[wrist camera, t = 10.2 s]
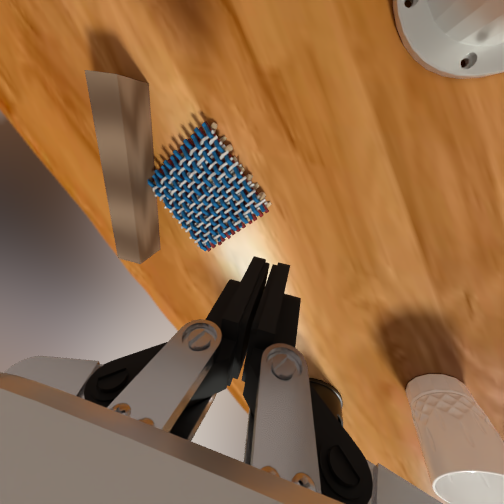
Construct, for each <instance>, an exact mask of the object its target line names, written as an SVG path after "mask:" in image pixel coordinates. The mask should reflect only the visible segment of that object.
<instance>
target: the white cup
mask: <svg viewBox="0 0 504 504" xmlns="http://www.w3.org/2000/svg"><path fill="white" fill-rule="evenodd" d="M406 394H407V398H408V401H409V404H410V407H411V410H412V418H413V421H414V425H415V429H416V432H417V436H418V440H419V443H420V447H421V450H422V453H423V457H424V460H425V464H426V467H427V470H428V474H429V477H430V481H431V484H432V488H433V490H434V492H435V493H436V494H437V495H438V496H439V497H440V498H441V499H443V500H444V501H446V502H448V503H450V504H504V440H503V439H502V437H501V436H500V434H499V433H498V431H497V430H496V428H495V427H494V426H493V425H492V423H491V421H490V420H489V418H488V417H487V415H486V414H485V412H484V411H483V410H482V409H481V408H480V406H479V405H478V404H477V402H476V401H475V399H474V397H473V396H472V394H471V393H470V391H469V390H468V388H467V387H466V385H465V384H463V383H462V382H461V381H459V380H458V379H456V378H454V377H451V376H447V375H444V374H426V375H422V376H418V377H415V378H414V379H413V380H411V381H410V382H409V383H408V384H407V387H406Z"/></svg>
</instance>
